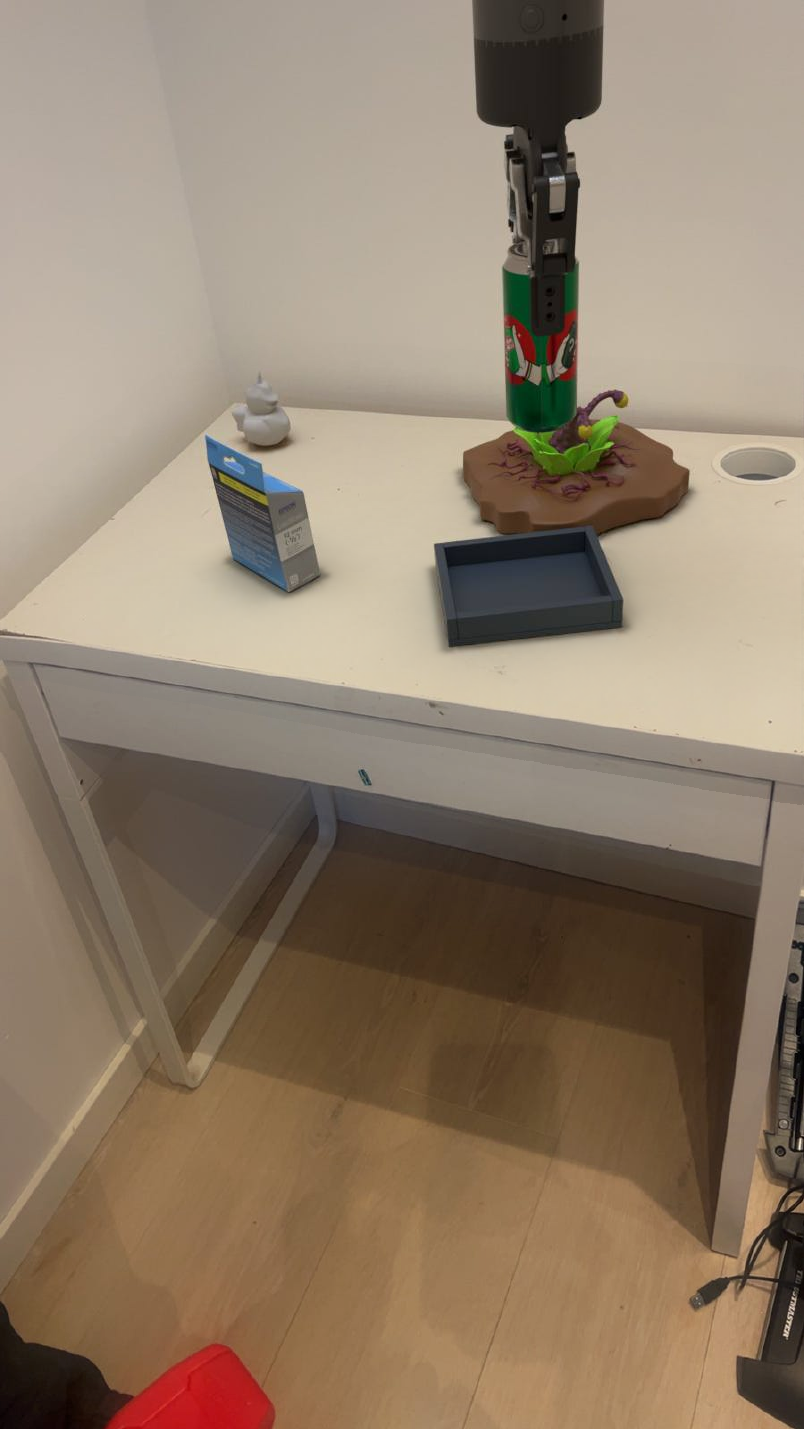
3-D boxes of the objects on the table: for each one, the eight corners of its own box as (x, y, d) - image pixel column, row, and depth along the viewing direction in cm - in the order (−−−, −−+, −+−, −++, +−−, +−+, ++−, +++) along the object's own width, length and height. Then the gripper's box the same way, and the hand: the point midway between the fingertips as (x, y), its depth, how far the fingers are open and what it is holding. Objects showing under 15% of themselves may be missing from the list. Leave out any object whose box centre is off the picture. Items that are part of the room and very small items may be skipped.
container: (592, 551, 90) (592, 525, 88) (622, 627, 81) (623, 599, 79) (435, 569, 90) (433, 543, 88) (448, 646, 81) (446, 619, 79)
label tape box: (322, 576, 91) (300, 445, 83) (285, 595, 89) (259, 463, 81) (264, 543, 96) (239, 417, 88) (228, 561, 94) (199, 434, 87)
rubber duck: (280, 455, 111) (267, 382, 105) (226, 450, 113) (211, 379, 108) (302, 433, 114) (290, 362, 109) (249, 429, 116) (236, 359, 111)
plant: (607, 424, 109) (611, 316, 102) (718, 501, 94) (731, 382, 87) (432, 472, 104) (423, 362, 97) (520, 560, 90) (517, 439, 83)
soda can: (575, 404, 77) (578, 233, 69) (577, 434, 73) (580, 256, 66) (507, 408, 78) (502, 238, 70) (505, 437, 74) (500, 261, 66)
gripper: (630, 31, 55) (618, 351, 65) (579, 3, 66) (575, 280, 76) (488, 47, 55) (499, 364, 65) (461, 17, 66) (474, 292, 76)
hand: (540, 318), depth 71 cm, fingers closed on soda can, 5 cm apart
